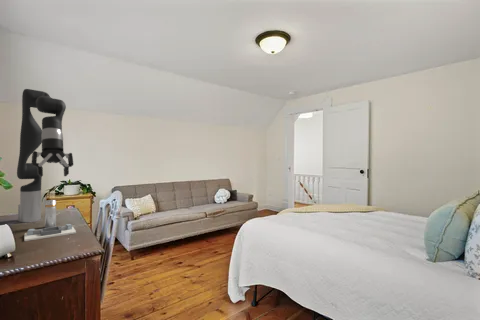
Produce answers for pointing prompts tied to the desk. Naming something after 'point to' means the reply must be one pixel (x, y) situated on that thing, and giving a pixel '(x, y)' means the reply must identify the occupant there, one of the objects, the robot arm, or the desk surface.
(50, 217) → the cylinder
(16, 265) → the desk surface
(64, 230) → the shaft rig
